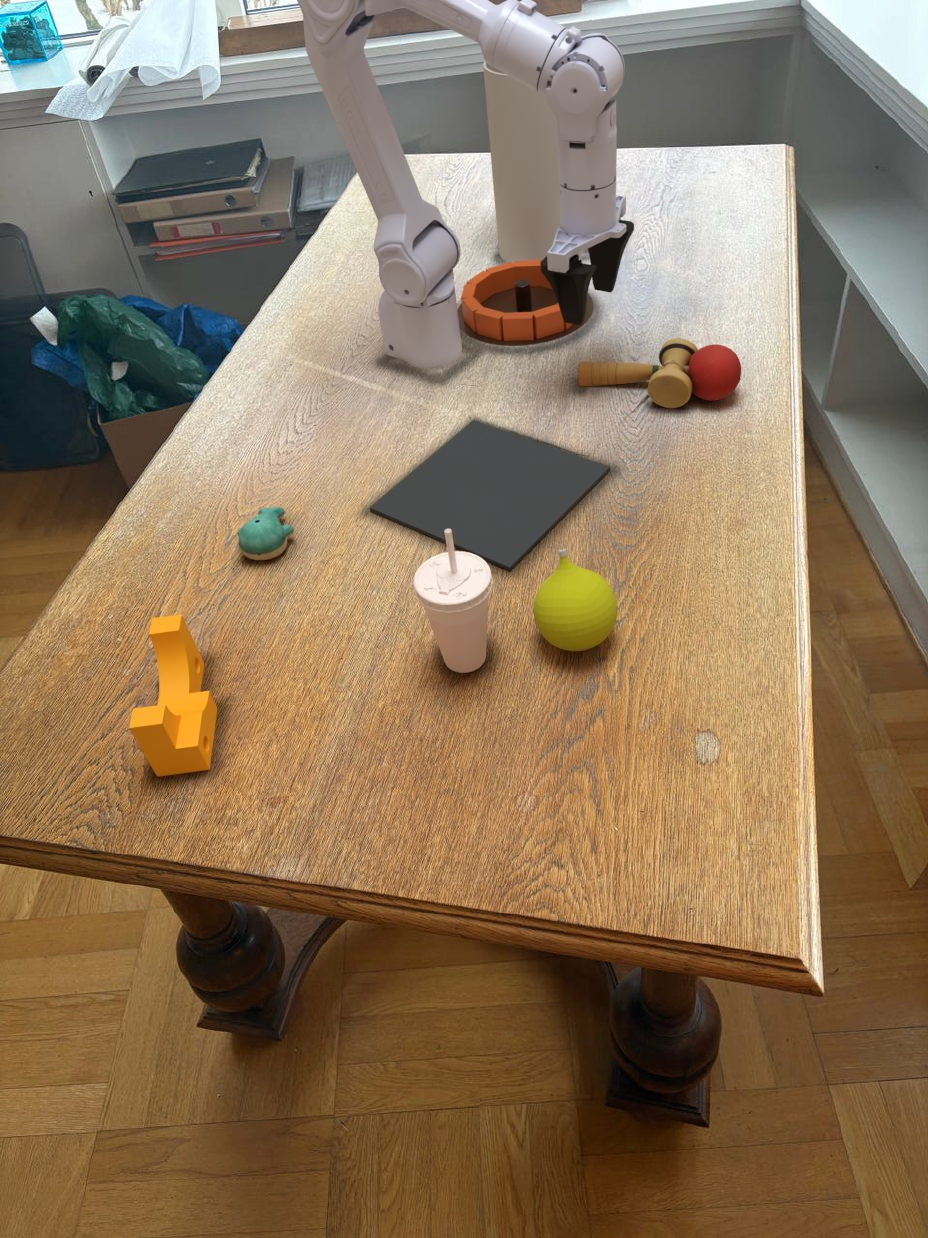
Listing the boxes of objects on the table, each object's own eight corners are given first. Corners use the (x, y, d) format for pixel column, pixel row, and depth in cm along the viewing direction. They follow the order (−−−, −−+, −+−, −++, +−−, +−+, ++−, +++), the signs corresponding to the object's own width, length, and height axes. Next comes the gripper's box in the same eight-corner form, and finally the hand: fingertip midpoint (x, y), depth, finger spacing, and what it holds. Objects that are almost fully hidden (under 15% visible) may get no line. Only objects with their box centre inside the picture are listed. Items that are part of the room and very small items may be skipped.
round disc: (428, 331, 124) (423, 299, 121) (508, 272, 133) (506, 241, 130) (542, 364, 115) (541, 330, 112) (620, 299, 124) (620, 266, 121)
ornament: (558, 600, 87) (553, 515, 80) (630, 623, 84) (631, 537, 77) (521, 652, 83) (513, 568, 76) (596, 678, 80) (594, 593, 73)
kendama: (575, 417, 109) (737, 411, 102) (568, 364, 105) (735, 354, 99) (591, 391, 115) (745, 384, 108) (585, 340, 111) (744, 329, 104)
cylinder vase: (601, 240, 137) (600, 45, 119) (560, 279, 130) (553, 78, 112) (526, 228, 142) (515, 40, 125) (483, 265, 135) (464, 71, 118)
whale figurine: (233, 566, 95) (222, 537, 92) (249, 519, 100) (239, 490, 97) (290, 564, 94) (280, 535, 92) (303, 516, 99) (294, 487, 97)
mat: (370, 511, 99) (369, 507, 99) (473, 423, 108) (473, 419, 108) (510, 571, 90) (509, 567, 90) (610, 470, 99) (610, 466, 99)
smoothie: (510, 637, 84) (497, 514, 74) (488, 691, 80) (471, 569, 70) (443, 625, 86) (421, 504, 76) (418, 677, 82) (391, 557, 72)
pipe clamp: (209, 769, 77) (184, 720, 73) (157, 776, 78) (129, 728, 73) (223, 661, 86) (201, 611, 81) (176, 668, 86) (152, 618, 81)
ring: (440, 323, 123) (437, 302, 121) (510, 272, 131) (508, 251, 129) (540, 351, 116) (538, 329, 114) (607, 295, 124) (607, 273, 122)
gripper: (591, 214, 89) (593, 344, 99) (654, 156, 97) (649, 281, 107) (526, 204, 92) (533, 332, 102) (591, 149, 100) (592, 272, 110)
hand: (588, 305), depth 105 cm, fingers open, 7 cm apart
